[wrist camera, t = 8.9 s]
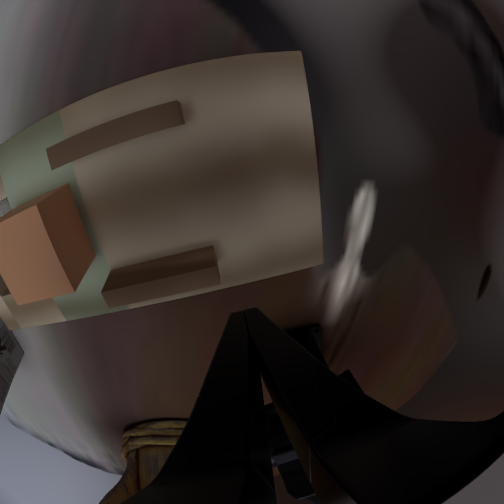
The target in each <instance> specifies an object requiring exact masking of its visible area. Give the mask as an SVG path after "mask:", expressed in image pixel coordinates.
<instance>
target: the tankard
mask: <svg viewBox="0 0 504 504" xmlns="http://www.w3.org/2000/svg"><path fill="white" fill-rule="evenodd" d="M186 423H187V421H181V420H161V421H151V422H145V423H141V424H139V425H137V426H135V427H133V428H130V429H128V431H126V432H124V433H123V436H122V450H121V455H122V457H123V458H124V460H125V461H126V462H127V467H126V470H125V472H124V474H123V476H122V477H121V479H120V481H119V482H118V483H117V484H116V485H115V486H114V487H113V489H111V490H110V491H109V492H108V493H107V494H106V495H105V496H104V498H103V499H102V500H101V501H100V503H99V504H120V503H121V502H123V501H125V500H126V499H128V498H129V497H131V496H133V495H134V494H136V493H137V492H139V491H140V490H142V489H143V488H145V487H146V486H147V485H148V484H149V483H151V481H152V480H153V479H154V478H155V477H156V476H157V474H158V473H159V471H160V470H161V468H162V466H163V465H164V463H165V461H166V459H167V458H168V456H169V454H170V452H171V451H172V449H173V447H174V445H175V444H176V442H177V440H178V438H179V437H180V435H181V433H182V431H183V429H184V427H185V425H186Z"/></svg>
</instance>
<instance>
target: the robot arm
mask: <svg viewBox="0 0 504 504" xmlns="http://www.w3.org/2000/svg"><path fill="white" fill-rule="evenodd" d="M321 347H322V328H321V326H320V325H319V324H315V325H311V326H308V327H305V328H301V329H298V330H294V331H290V332H287V333H286V332H285V331H284V330H283V329H281V328H280V327H279V326H278V325H277V324H276V323H275V322H273V321H272V320H271V319H270V318H269V317H268V316H267V315H266V314H264V313H263V312H262V311H261V310H260V309H259V308H258V307H252V308H248V309H245V310H244V311H243V310H240V311H236V312H232V313H230V315H229V318H228V320H227V323H226V326H225V328H224V331H223V333H222V336H221V338H220V341H219V344H218V346H217V349H216V351H215V354H214V356H213V359H212V362H211V364H210V367H209V369H208V372H207V374H206V377H205V380H204V382H203V385H202V387H201V390H200V392H199V396H198V397H197V400H196V402H195V405H194V408H193V410H192V412H191V414H190V417H189V419H188V421H187V423H186V425H185V427H184V429H183V431H182V433H181V435H180V437H179V438H178V440H177V442H176V444H175V445H174V447H173V449H172V451H171V452H170V454H169V456H168V458H167V459H166V461H165V463H164V465H163V466H162V468H161V470H160V471H159V473H158V474H157V476H156V477H155V478H154V479H153V480H152V481H151V483H149V484H148V485H147V486H146V487H145V488H143V489H142V490H140V491H139V492H137V493H136V494H134V495H133V496H131V497H129V498H128V499H126V500H125V501H123V502H121V503H120V504H277V501H276V493H275V486H274V478H273V470H272V467H273V468H278V469H279V472H280V474H281V476H282V478H283V481H284V483H285V486H286V489H287V492H288V493H289V494H291V495H292V496H293V497H294V498H295V499H297V500H301V499H306V500H308V501H309V502H311V503H313V504H504V411H503V412H502V413H501V414H499V415H498V416H496V417H494V418H492V419H489V420H485V421H477V422H461V421H437V420H424V419H416V418H411V417H408V416H404V415H402V414H400V413H398V412H396V411H394V410H392V409H390V408H388V407H387V406H385V405H383V404H381V403H380V402H378V401H376V400H374V399H373V398H371V397H369V396H368V395H366V394H364V392H363V391H362V389H361V388H360V386H359V385H358V383H357V381H356V380H355V378H354V377H353V375H352V374H351V372H350V371H349V369H348V370H346V371H344V372H343V373H342V374H340V375H338V376H337V375H336V374H335V373H333V372H332V371H331V370H330V369H329V367H328V365H327V363H326V361H325V359H324V357H323V355H322V353H321ZM258 366H259V367H258ZM259 369H260V371H259ZM260 373H261V375H262V378H263V381H264V383H265V385H266V388H267V390H268V392H269V394H270V397H271V399H272V401H273V402H272V403H270V404H267V405H264V399H263V391H262V383H261V376H260Z"/></svg>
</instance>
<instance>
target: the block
mask: <svg viewBox="0 0 504 504" xmlns="http://www.w3.org/2000/svg"><path fill="white" fill-rule="evenodd" d="M95 257H96V255H95V252H94V250H93V248H92V245H91V243H90V240H89V238H88V235H87V233H86V230H85V228H84V225H83V223H82V220H81V217H80V214H79V212H78V209H77V206H76V203H75V200H74V197H73V194H72V191H71V188H70V185H69V183H67V184H65V185H63V186H60V187H58V188H56V189H53V190H51V191H49V192H46V193H44V194H42V195H40V196H38V197H35V198H33V199H31V200H29V201H27V202H25V203H23V204H21V205H19V206H17V207H15V208H14V209H12V210H11V211H9V212H8V213H7V214H5V215H4V216H2V217H1V218H0V274H1V276H2V278H3V280H4V282H5V284H6V285H7V287H8V289H9V291H10V293H11V294H12V296H13V298H14V299H15V301H16V303H17V304H18V305H22V304H27V303H31V302H35V301H40V300H44V299H48V298H53V297H57V296H61V295H66V294H70V293H74V292H76V290H77V288H78V286H79V284H80V283H81V281H82V279H83V277H84V275H85V274H86V272H87V270H88V268H89V267H90V265H91V263H92V262H93V260H94V258H95Z"/></svg>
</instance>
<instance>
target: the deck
mask: <svg viewBox="0 0 504 504" xmlns="http://www.w3.org/2000/svg"><path fill="white" fill-rule="evenodd" d="M67 183H69V185H70V188H71V191H72V194H73V197H74V200H75V203H76V206H77V209H78V212H79V214H80V217H81V220H82V223H83V225H84V228H85V230H86V233H87V235H88V238H89V240H90V243H91V245H92V248H93V250H94V252H95V255H96V257H95V258H94V260H93V262H92V263H91V265H90V267H89V268H88V270H87V272H86V274H85V275H84V277H83V279H82V281H81V283H80V284H79V286H78V288H77V290H76V292H74V293H70V294H66V295H61V296H57V297H53V298H48V299H44V300H40V301H35V302H31V303H27V304H22V305H18V304H17V303H16V301H15V299H14V298H13V296H12V294H11V293H10V291H9V289H8V287H7V285H6V284H5V282H4V280H3V278H2V276H1V274H0V317H1V318H2V320H3V321H4V323H5V324H6V326H7V327H8V329H9V330H15V329H21V328H28V327H34V326H40V325H46V324H52V323H57V322H63V321H69V320H74V319H80V318H85V317H90V316H96V315H101V314H106V313H111V312H116V311H121V310H127V309H131V308H136V307H141V306H146V305H151V304H156V303H160V302H165V301H170V300H174V299H179V298H184V297H188V296H193V295H197V294H202V293H206V292H210V291H215V290H219V289H224V288H228V287H232V286H236V285H241V284H245V283H249V282H253V281H257V280H261V279H266V278H270V277H274V276H278V275H282V274H286V273H290V272H294V271H298V270H302V269H306V268H309V267H313V266H317V265H321V264H323V241H322V240H323V239H322V221H321V220H322V219H321V203H320V190H319V178H318V167H317V157H316V147H315V139H314V130H313V122H312V115H311V107H310V100H309V94H308V87H307V82H306V75H305V69H304V63H303V58H302V53H301V51H286V52H285V51H284V52H269V53H257V54H248V55H239V56H232V57H225V58H219V59H213V60H208V61H202V62H197V63H193V64H188V65H183V66H179V67H175V68H171V69H167V70H163V71H160V72H156V73H153V74H149V75H146V76H143V77H140V78H136V79H133V80H130V81H127V82H124V83H122V84H119V85H116V86H113V87H111V88H108V89H106V90H103V91H100V92H98V93H96V94H93V95H91V96H88V97H86V98H84V99H82V100H79V101H77V102H75V103H73V104H71V105H69V106H67V107H65V108H62V109H60V110H58V111H57V112H55V113H53V114H51V115H49V116H47V117H45V118H43V119H42V120H40V121H38V122H36V123H34V124H33V125H31V126H29V127H28V128H26V129H24V130H23V131H21V132H20V133H18V134H16V135H15V136H13V137H12V138H10V139H9V140H7V141H6V142H4V143H3V144H1V145H0V201H1V200H2V199H4V198H6V197H7V198H8V201H9V204H10V207H11V210H12V209H14V208H15V207H17V206H19V205H21V204H23V203H25V202H27V201H29V200H31V199H33V198H35V197H38V196H40V195H42V194H44V193H46V192H49V191H51V190H53V189H56V188H58V187H60V186H63V185H65V184H67Z"/></svg>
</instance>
